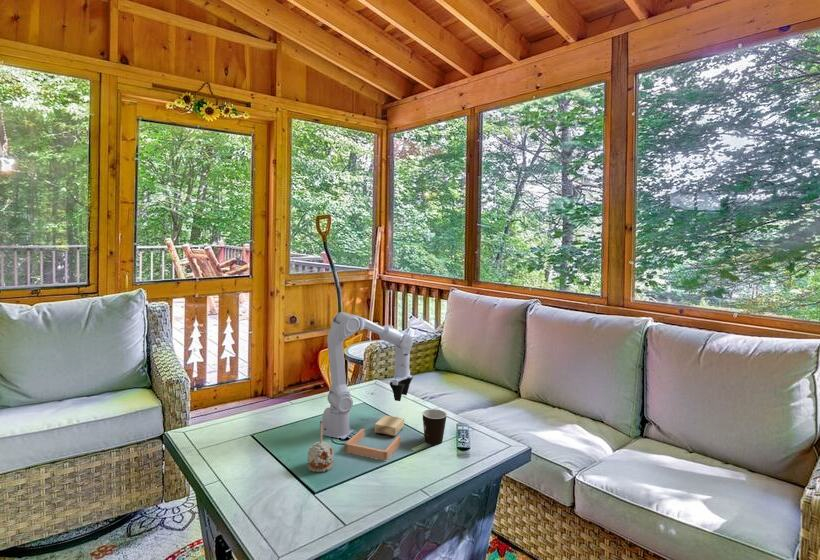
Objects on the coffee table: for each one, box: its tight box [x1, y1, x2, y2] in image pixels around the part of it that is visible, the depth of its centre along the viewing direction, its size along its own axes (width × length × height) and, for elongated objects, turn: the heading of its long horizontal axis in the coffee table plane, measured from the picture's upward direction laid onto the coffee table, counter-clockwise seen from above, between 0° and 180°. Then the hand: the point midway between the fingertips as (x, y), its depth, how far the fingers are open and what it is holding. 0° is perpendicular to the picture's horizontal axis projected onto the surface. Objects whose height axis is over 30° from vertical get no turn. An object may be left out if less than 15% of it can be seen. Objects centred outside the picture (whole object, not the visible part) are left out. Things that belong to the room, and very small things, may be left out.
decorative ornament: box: [307, 419, 335, 473], centre depth 143 cm, size 8×8×15 cm
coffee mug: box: [422, 408, 448, 446], centre depth 165 cm, size 12×9×10 cm
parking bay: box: [344, 428, 402, 461], centre depth 157 cm, size 15×13×3 cm
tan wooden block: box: [374, 414, 405, 438], centre depth 170 cm, size 8×9×4 cm
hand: (400, 397), depth 180 cm, fingers open, 7 cm apart
